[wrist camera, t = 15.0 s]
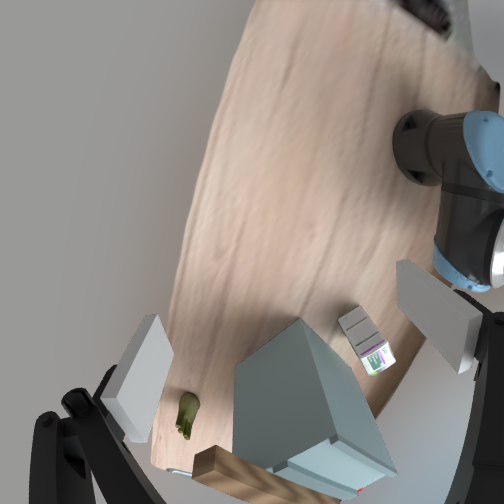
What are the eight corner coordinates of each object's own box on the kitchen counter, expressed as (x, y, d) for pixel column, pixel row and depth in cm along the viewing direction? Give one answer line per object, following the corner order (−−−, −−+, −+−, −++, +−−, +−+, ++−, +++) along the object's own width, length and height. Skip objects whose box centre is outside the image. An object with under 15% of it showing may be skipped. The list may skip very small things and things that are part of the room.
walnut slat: (194, 454, 31) (191, 478, 27) (216, 444, 30) (214, 470, 27) (320, 506, 38) (323, 523, 34) (338, 498, 37) (343, 515, 33)
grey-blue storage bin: (299, 317, 59) (339, 440, 29) (351, 368, 64) (397, 474, 34) (235, 365, 62) (231, 489, 33) (291, 408, 67) (310, 515, 37)
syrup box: (336, 318, 60) (358, 360, 46) (360, 304, 59) (388, 342, 45) (347, 337, 61) (369, 379, 47) (370, 322, 60) (397, 362, 46)
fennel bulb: (180, 388, 64) (172, 424, 53) (201, 391, 65) (195, 428, 53) (180, 404, 66) (172, 439, 55) (200, 407, 66) (194, 443, 55)
